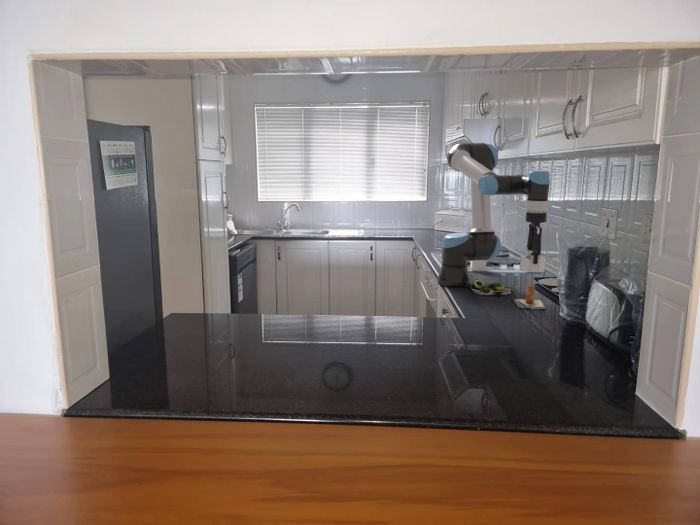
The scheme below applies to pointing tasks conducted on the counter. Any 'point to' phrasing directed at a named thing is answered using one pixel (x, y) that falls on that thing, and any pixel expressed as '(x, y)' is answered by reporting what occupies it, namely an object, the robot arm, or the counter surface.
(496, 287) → the salad plate
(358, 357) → the counter surface
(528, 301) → the keeper
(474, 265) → the medicine bottle
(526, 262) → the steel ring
